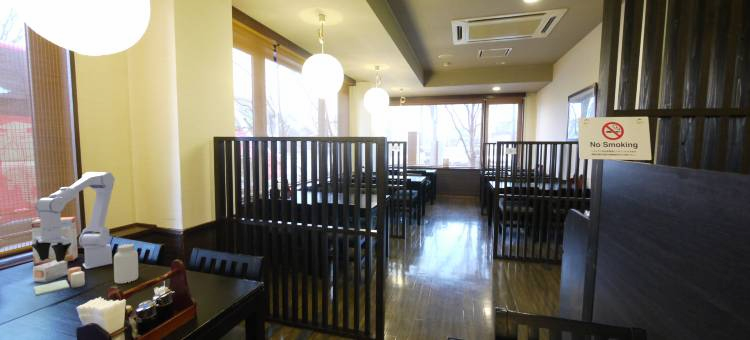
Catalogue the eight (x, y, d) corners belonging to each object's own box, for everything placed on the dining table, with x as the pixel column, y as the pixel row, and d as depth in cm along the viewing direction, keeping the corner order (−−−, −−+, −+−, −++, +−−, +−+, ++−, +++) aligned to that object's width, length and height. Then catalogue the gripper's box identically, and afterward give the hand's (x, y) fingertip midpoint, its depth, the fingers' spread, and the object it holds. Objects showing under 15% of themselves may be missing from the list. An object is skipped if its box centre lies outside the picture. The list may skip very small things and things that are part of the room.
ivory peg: (83, 282, 127) (83, 270, 127) (85, 285, 125) (85, 273, 125) (70, 285, 124) (69, 273, 124) (71, 288, 122) (71, 276, 121)
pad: (65, 281, 128) (65, 279, 128) (69, 287, 122) (69, 286, 122) (33, 288, 121) (33, 286, 121) (36, 295, 115) (36, 294, 115)
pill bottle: (142, 277, 133) (142, 244, 132) (122, 285, 126) (121, 249, 124) (130, 274, 136) (129, 241, 135) (109, 282, 128) (108, 247, 127)
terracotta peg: (80, 277, 132) (80, 266, 131) (82, 280, 129) (81, 268, 129) (67, 280, 129) (66, 268, 128) (69, 283, 126) (68, 271, 126)
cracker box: (78, 257, 154) (76, 216, 152) (72, 261, 149) (71, 218, 147) (40, 260, 148) (38, 218, 146) (32, 265, 143) (30, 221, 141)
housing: (57, 273, 135) (56, 259, 135) (68, 274, 134) (68, 260, 134) (32, 281, 126) (31, 267, 126) (44, 283, 126) (43, 268, 125)
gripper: (23, 228, 120) (25, 262, 121) (54, 231, 118) (56, 265, 119) (44, 224, 127) (46, 256, 128) (74, 226, 125) (76, 258, 126)
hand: (52, 260), depth 124 cm, fingers open, 7 cm apart
